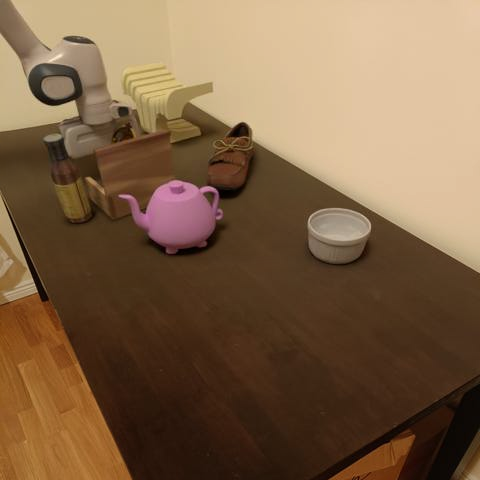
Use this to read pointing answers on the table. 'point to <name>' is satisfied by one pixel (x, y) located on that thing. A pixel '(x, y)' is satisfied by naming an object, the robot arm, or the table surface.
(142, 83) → the slatted curved stool
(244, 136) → the moccasin
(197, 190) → the teapot
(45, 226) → the table surface
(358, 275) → the table surface
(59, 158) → the sauce bottle
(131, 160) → the wooden holder
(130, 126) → the shrine
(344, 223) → the ramekin
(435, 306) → the table surface
